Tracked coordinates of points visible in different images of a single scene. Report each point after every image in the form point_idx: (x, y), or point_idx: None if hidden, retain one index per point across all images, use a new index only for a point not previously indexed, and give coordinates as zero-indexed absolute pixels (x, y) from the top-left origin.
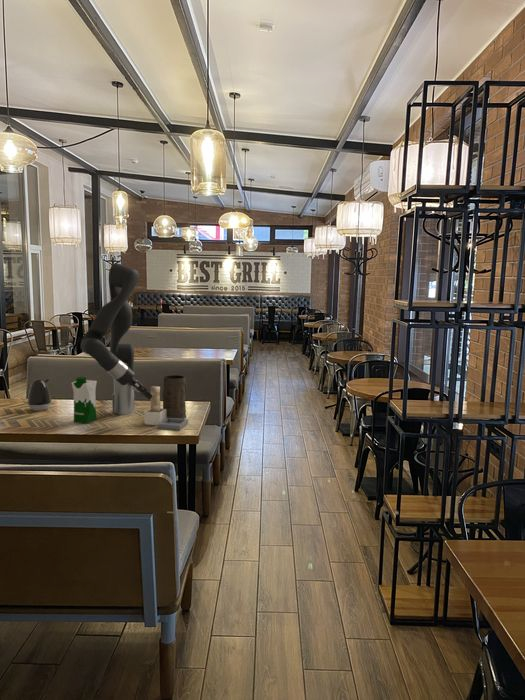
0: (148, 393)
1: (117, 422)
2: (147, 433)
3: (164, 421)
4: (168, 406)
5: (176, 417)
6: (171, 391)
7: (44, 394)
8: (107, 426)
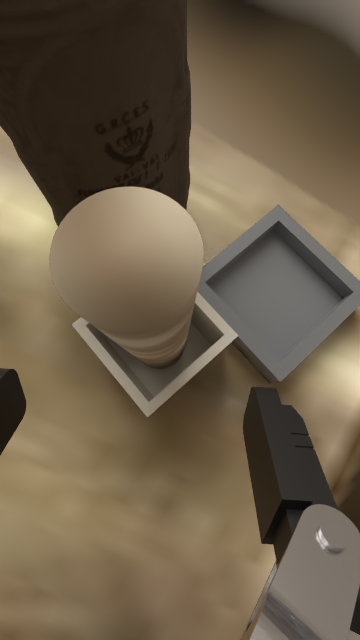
0: (320, 467)
1: (4, 531)
2: None
3: (241, 321)
4: None
5: None
6: (151, 111)
7: None
8: (45, 629)
